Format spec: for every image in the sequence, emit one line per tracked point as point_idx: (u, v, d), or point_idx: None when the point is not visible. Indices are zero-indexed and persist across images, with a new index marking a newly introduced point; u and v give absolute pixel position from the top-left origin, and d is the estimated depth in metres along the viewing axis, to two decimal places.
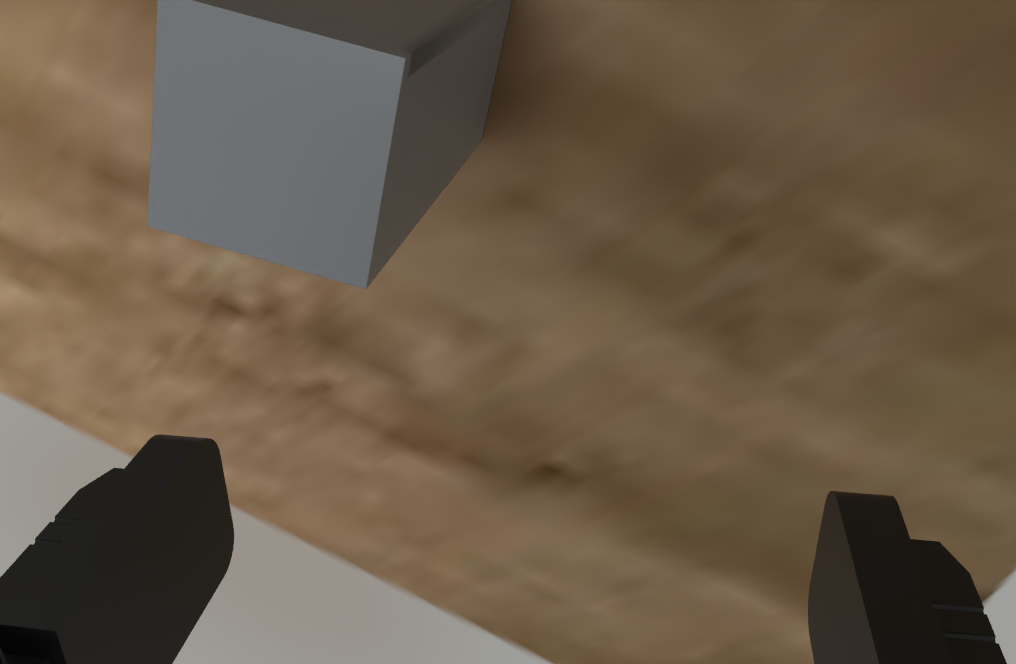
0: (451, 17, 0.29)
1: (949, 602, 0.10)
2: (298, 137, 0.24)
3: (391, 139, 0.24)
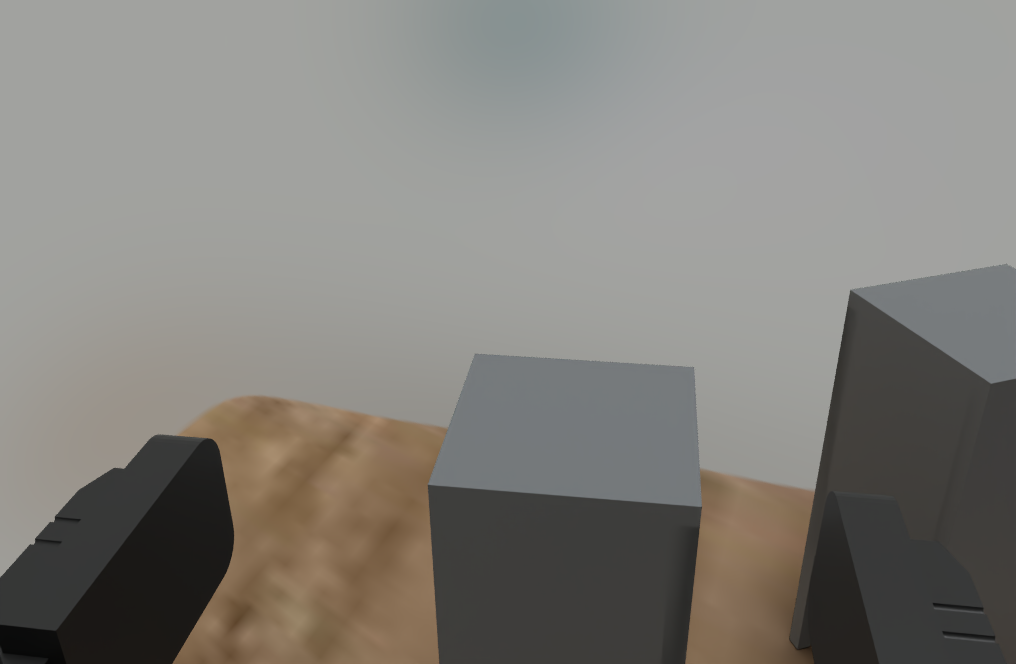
0: None
1: (949, 603, 0.10)
2: (591, 438, 0.24)
3: (610, 500, 0.22)
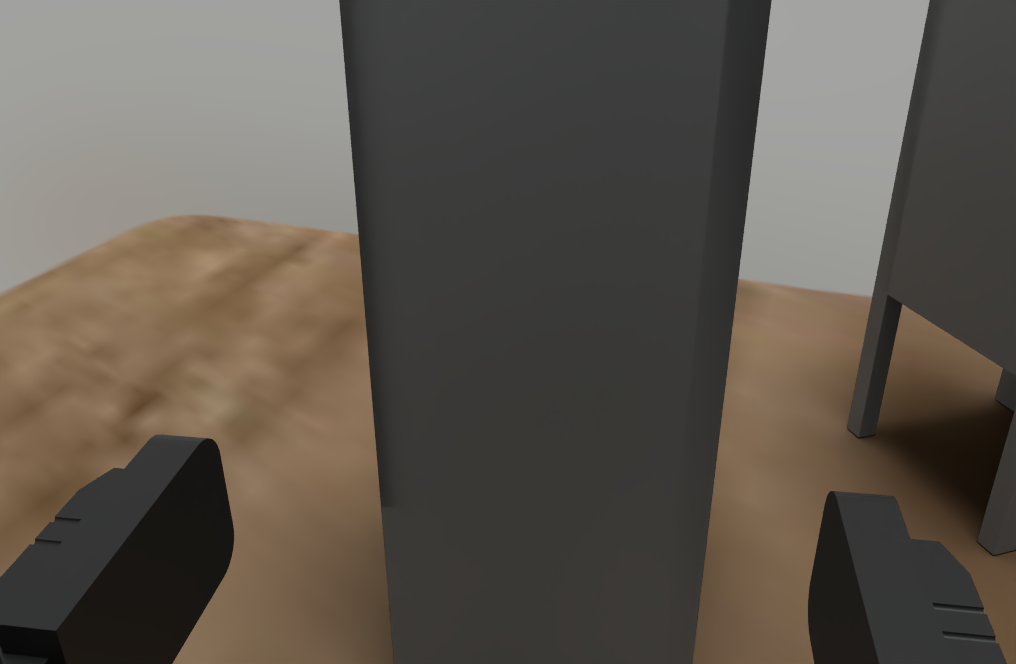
0: None
1: (949, 602, 0.10)
2: None
3: None
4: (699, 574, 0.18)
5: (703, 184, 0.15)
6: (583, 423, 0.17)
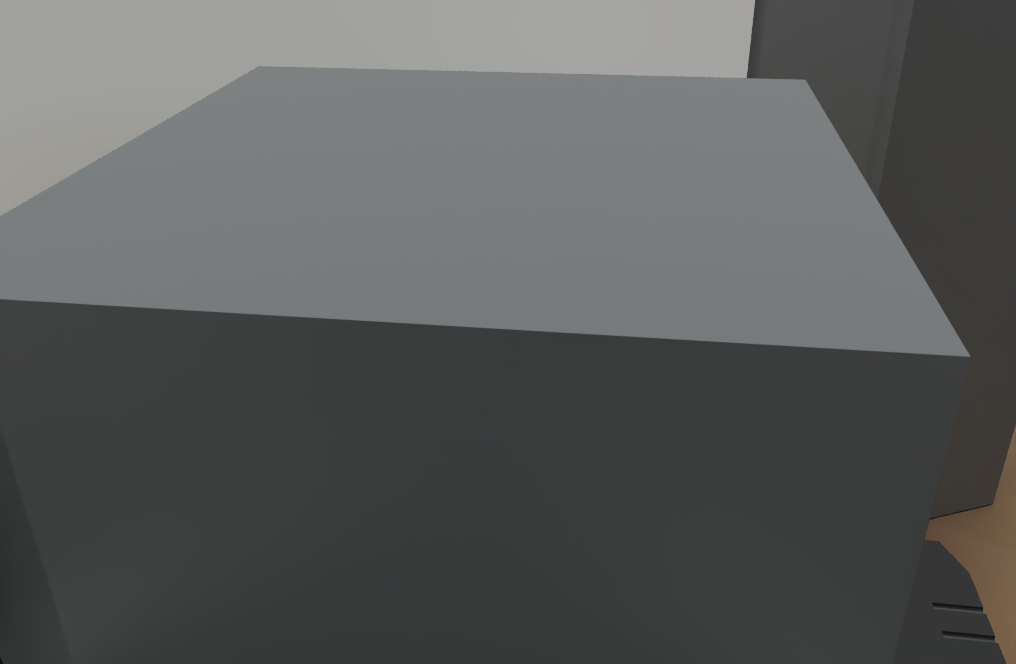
0: None
1: (949, 602, 0.10)
2: (521, 186, 0.07)
3: (575, 336, 0.05)
4: None
5: None
6: None
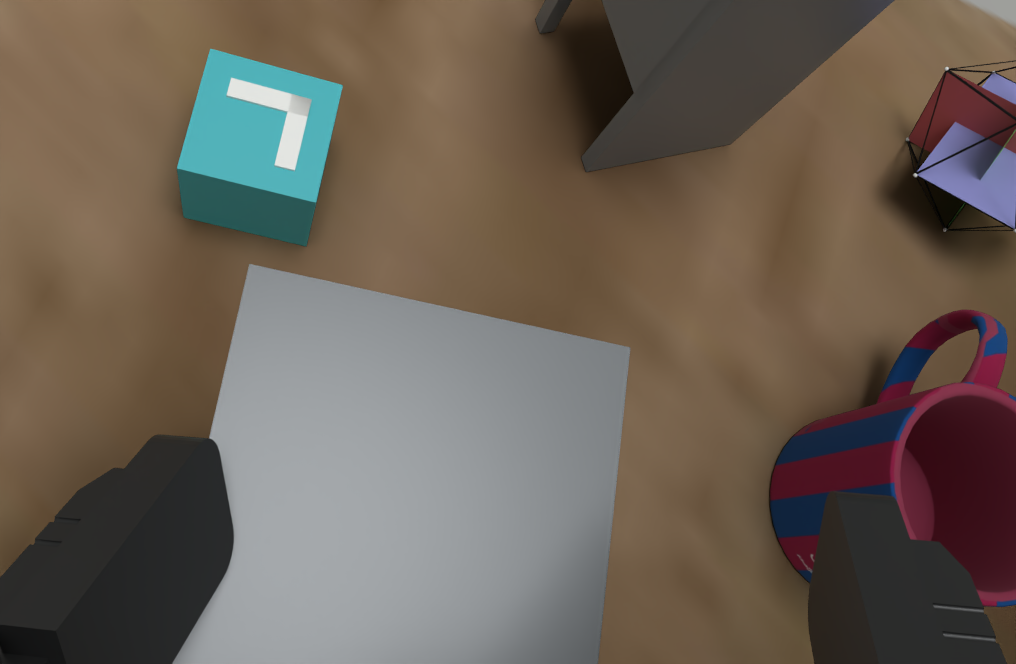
0: None
1: (949, 602, 0.10)
2: (441, 562, 0.14)
3: None
4: None
5: None
6: None
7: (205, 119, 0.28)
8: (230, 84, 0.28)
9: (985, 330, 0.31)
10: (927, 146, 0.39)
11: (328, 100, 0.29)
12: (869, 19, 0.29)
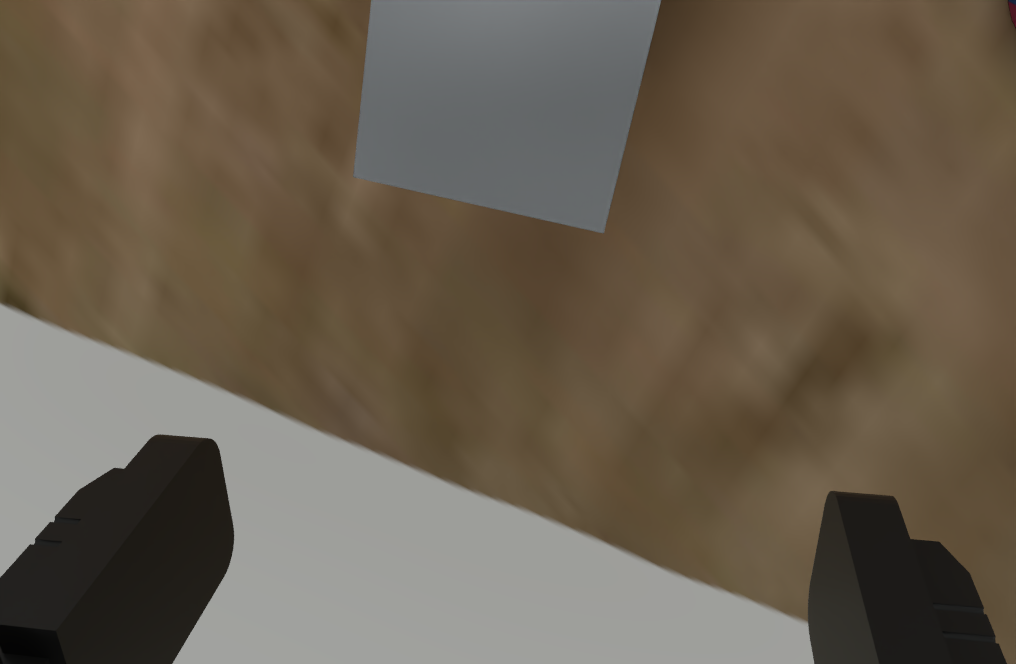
0: None
1: (949, 602, 0.10)
2: (515, 115, 0.22)
3: (521, 214, 0.23)
4: None
5: None
6: None
7: None
8: None
9: None
10: None
11: None
12: None
